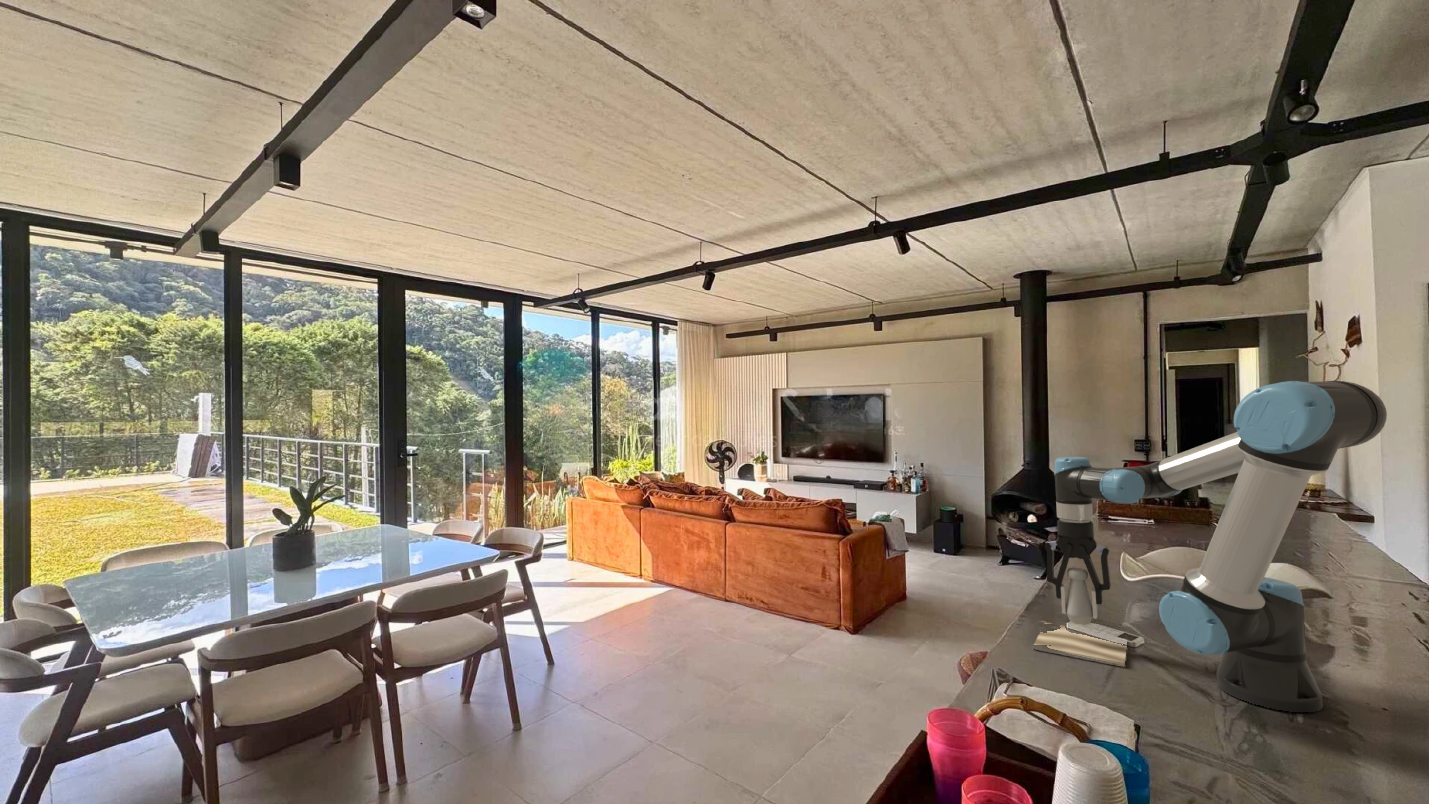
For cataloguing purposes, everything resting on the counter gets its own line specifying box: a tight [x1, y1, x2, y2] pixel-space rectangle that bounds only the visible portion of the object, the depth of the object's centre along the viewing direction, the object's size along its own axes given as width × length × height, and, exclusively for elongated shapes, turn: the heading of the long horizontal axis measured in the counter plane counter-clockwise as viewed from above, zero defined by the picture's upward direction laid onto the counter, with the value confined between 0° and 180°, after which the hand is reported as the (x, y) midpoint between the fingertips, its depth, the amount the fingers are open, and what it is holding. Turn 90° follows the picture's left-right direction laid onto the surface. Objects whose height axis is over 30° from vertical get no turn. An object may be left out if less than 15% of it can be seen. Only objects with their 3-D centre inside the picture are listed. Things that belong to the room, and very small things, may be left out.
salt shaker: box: [1066, 566, 1094, 626], centre depth 139 cm, size 6×6×13 cm
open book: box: [1033, 622, 1128, 666], centre depth 139 cm, size 18×18×1 cm
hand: (1079, 614), depth 139 cm, fingers closed on salt shaker, 6 cm apart
